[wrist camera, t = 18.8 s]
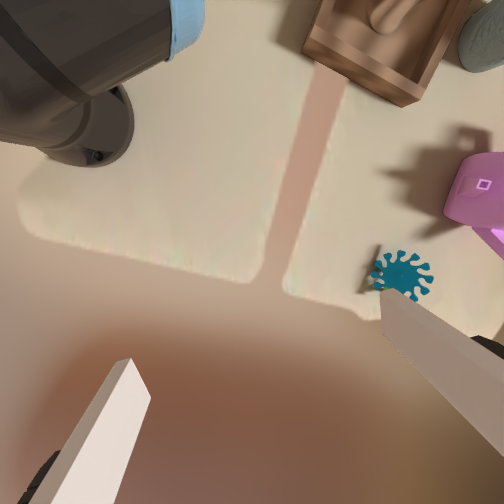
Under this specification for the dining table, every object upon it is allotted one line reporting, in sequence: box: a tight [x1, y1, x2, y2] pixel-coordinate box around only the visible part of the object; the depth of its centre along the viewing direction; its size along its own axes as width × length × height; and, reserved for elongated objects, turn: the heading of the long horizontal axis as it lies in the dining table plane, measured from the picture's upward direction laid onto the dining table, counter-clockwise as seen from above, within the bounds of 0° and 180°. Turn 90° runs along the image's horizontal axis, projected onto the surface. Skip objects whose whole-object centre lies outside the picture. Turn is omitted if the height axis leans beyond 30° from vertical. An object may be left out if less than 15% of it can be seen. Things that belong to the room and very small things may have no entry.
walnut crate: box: [301, 0, 471, 108], centre depth 33 cm, size 19×19×4 cm
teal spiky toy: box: [371, 250, 434, 302], centre depth 46 cm, size 11×6×10 cm
